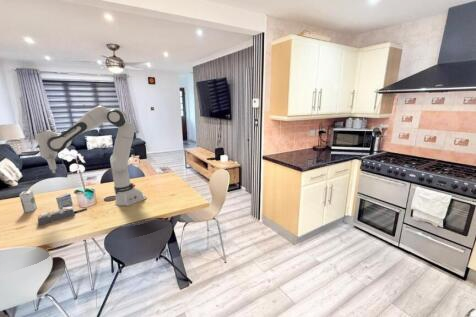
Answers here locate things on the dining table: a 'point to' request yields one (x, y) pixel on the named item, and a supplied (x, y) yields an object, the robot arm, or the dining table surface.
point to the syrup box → (28, 201)
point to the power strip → (58, 216)
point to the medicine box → (64, 201)
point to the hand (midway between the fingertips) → (54, 172)
